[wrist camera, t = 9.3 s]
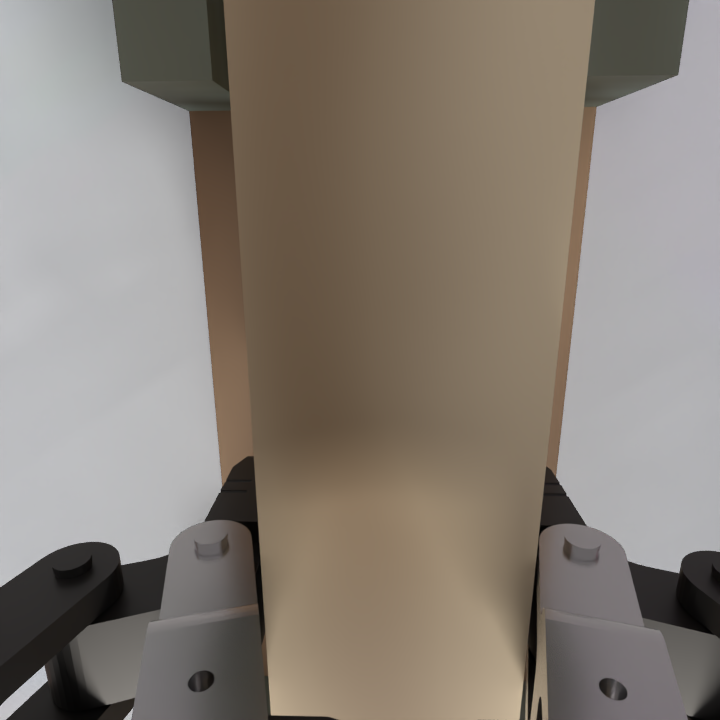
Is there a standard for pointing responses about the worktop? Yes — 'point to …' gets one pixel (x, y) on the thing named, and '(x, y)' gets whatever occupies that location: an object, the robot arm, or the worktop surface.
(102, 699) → the robot arm
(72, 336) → the worktop surface
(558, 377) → the holder
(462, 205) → the slat
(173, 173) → the worktop surface
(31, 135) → the worktop surface
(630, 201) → the worktop surface
